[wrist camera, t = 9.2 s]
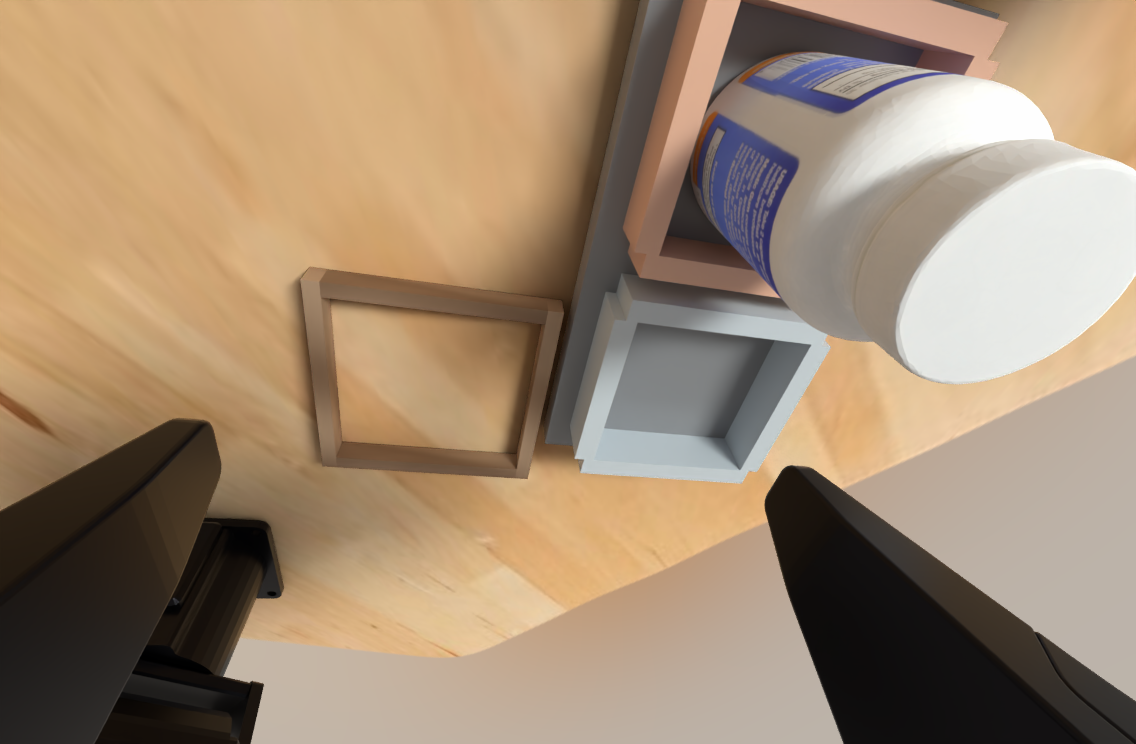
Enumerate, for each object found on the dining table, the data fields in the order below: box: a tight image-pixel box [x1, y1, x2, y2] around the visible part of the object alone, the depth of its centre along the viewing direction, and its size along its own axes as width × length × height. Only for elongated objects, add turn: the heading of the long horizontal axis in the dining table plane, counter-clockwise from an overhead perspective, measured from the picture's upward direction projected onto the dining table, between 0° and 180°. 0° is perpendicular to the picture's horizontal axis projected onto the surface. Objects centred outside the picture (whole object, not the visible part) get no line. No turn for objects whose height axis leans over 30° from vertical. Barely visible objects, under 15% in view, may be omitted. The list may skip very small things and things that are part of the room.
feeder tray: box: [300, 267, 564, 479], centre depth 21 cm, size 9×9×1 cm
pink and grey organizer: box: [544, 0, 1009, 483], centre depth 18 cm, size 18×10×3 cm, turn 169°
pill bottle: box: [690, 52, 1136, 384], centre depth 12 cm, size 6×5×10 cm
